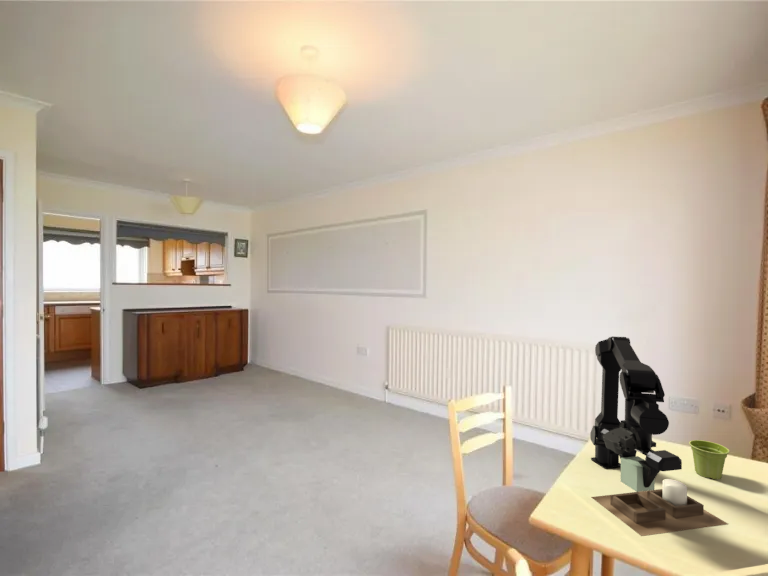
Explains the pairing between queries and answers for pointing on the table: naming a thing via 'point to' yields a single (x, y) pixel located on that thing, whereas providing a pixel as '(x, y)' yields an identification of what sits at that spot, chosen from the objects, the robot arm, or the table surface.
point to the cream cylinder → (674, 492)
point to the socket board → (657, 512)
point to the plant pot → (708, 458)
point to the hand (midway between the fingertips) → (637, 481)
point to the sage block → (634, 474)
